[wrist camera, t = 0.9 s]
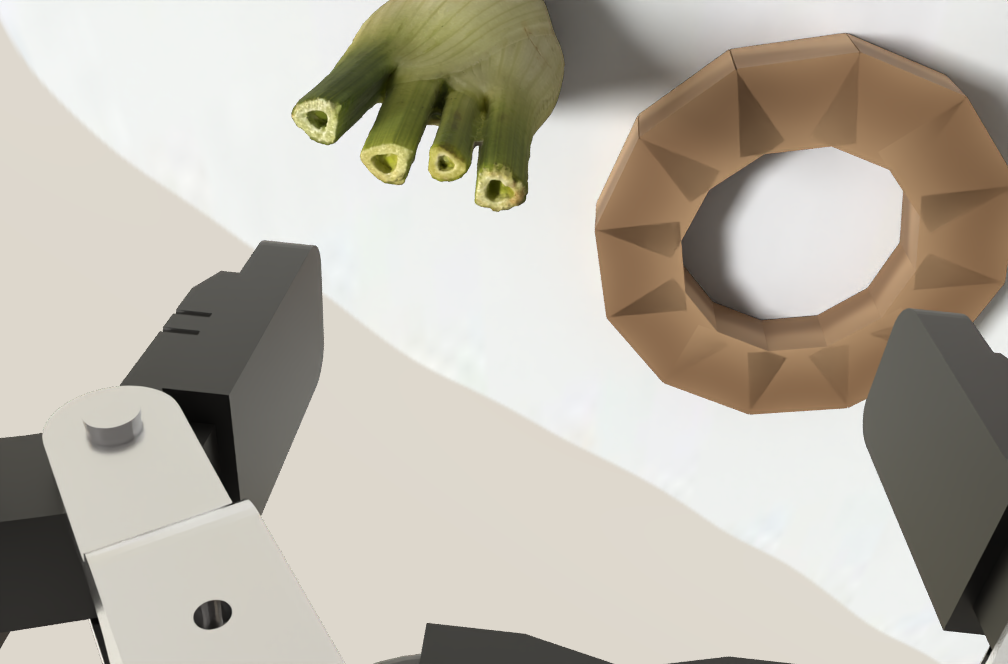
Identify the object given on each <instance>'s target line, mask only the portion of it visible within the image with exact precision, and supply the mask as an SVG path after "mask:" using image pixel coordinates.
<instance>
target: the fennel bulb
mask: <svg viewBox="0 0 1008 664" xmlns="http://www.w3.org/2000/svg"><path fill="white" fill-rule="evenodd" d="M564 66H565V62H564V56H563V53H562V50H561V47H560V44H559V42H558V40H557V37H556V35H555V33H554V30H553V27H552V23H551V20H550V16H549V13H548V10H547V7H546V5H545V3H544V1H543V0H389V1H388V2H386V3H385V4H384V5H382V6H381V7H380V8H379V9H378V10H377V11H375V12H374V13H373V14H372V15H371V16H370V17H369V18H368V19H367V20H366V21H365V22H364V23H363V25H362V26H361V28H360V30H359V31H358V32H357V34H356V36H355V38H354V39H353V42H352V44H351V45H350V46H349V47H348V49H347V51H346V52H345V54H344V55H343V56H342V57H341V59H340V60H339V62H338V63H337V64H336V66H335V67H334V69H333V70H332V71H331V73H330V74H329V75H328V76H326V77H325V78H324V79H323V80H322V81H321V82H320V83H319V84H318V85H317V86H316V87H315V88H314V89H312V90H311V91H310V92H308V93H307V94H306V95H305V96H304V97H302V98H301V99H300V100H299V101H298V102H297V104H296V105H295V106H294V108H293V110H292V113H291V116H292V119H293V120H294V122H295V123H296V125H297V126H298V127H299V128H301V129H303V130H304V131H305V133H306V134H307V135H308V136H309V137H310V139H311V140H314V141H316V142H318V143H321V144H325V145H330V144H333V143H335V142H337V141H338V139H339V138H340V137H341V136H342V135H343V134H344V133H345V132H346V131H348V130H349V129H350V128H351V127H352V126H353V125H354V124H355V123H356V122H357V121H358V120H359V119H360V118H362V116H363V115H364V114H365V113H366V111H368V110H369V109H370V108H372V107H373V106H374V105H375V104H376V103H382V106H381V108H380V110H379V113H378V116H377V118H376V121H375V123H374V125H373V127H372V129H371V131H370V132H369V136H368V138H367V139H366V142H365V145H364V146H363V149H362V151H361V154H360V158H361V161H362V162H363V164H364V165H365V166H366V167H367V168H368V170H369V171H370V172H371V173H372V174H373V175H374V176H375V177H377V178H378V179H379V180H381V181H382V182H384V183H388V184H395V185H402V184H403V183H404V182H405V179H406V178H407V176H408V173H409V170H410V167H411V165H412V163H413V162H414V160H415V155H416V150H417V147H418V144H419V142H420V141H421V137H422V135H423V133H424V130H425V128H426V125H436V126H439V128H438V130H437V133H436V137H435V140H434V142H433V145H432V146H431V148H430V152H429V156H430V157H429V166H428V171H429V172H430V174H431V176H432V178H434V179H436V180H438V181H441V182H443V181H448V182H450V181H454V180H457V179H459V178H461V177H462V176H463V175H464V174H465V173H466V172H467V171H468V169H469V167H470V165H471V160H472V153H473V149H474V148H475V147H476V146H479V152H478V153H479V157H478V163H477V180H476V190H475V203H476V204H477V205H479V206H481V207H485V208H491V209H492V210H493V211H496V212H499V211H500V210H509V209H511V208H512V207H514V206H519V205H521V204H522V203H524V202H525V201H526V195H527V194H528V182H527V181H528V161H529V158H530V145H531V142H532V138H533V135H534V134H535V133H536V131H537V130H538V129H539V128H540V127H541V126H542V124H543V123H544V122H545V121H546V120H547V118H548V117H549V116H550V115H551V113H552V111H553V109H554V107H555V105H556V103H557V100H558V97H559V94H560V90H561V86H562V81H563V76H564Z"/></svg>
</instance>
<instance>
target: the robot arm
mask: <svg viewBox="0 0 1008 664" xmlns="http://www.w3.org/2000/svg"><path fill="white" fill-rule="evenodd" d="M323 350H324V332H323V305H322V277H321V258H320V253H319V249H318V247H317V246H314V245H305V244H295V243H285V242H275V241H266V240H264V241H261V242H260V243H259V245H258V246H257V248H256V249H255V251H254V252H253V254H252V255H251V257H250V258H249V260H248V261H247V263H246V264H245V266H244V267H243V269H242V270H241V272H240V273H236V272H226V271H220V272H219V273H217V274H215V275H214V276H212V277H210V278H209V279H207V280H205V281H203V282H202V283H200V284H198V285H197V286H195V287H193V288H192V289H191V290H190V292H189V293H188V294H187V296H186V297H185V299H184V300H183V301H182V302H181V304H180V305H179V306H178V308H177V310H176V314H173V315H172V316H171V317H170V319H169V320H168V321H167V323H166V324H165V325H164V327H163V332H161V331H160V332H159V333H158V335H157V336H156V337H155V339H154V340H153V341H152V343H151V344H150V345H149V347H148V348H147V349H146V351H145V352H144V354H143V355H142V356H141V358H140V359H139V360H138V362H137V363H136V364H135V366H134V367H133V368H132V370H131V371H130V372H129V374H128V375H127V377H126V378H125V379H124V380H123V382H122V383H121V384H120V386H116V387H109V388H104V389H100V390H96V391H92V392H89V393H86V394H84V395H81V396H79V397H77V398H75V399H73V400H71V401H69V402H67V403H66V404H65V405H63V406H62V407H60V408H59V409H58V410H57V411H56V412H55V413H53V415H52V416H51V417H50V418H49V419H48V421H47V422H46V425H45V427H44V429H43V433H39V434H33V435H26V436H17V437H7V438H0V648H1V646H2V645H3V643H4V641H5V639H6V638H7V636H8V634H9V633H10V631H15V630H22V629H29V628H35V627H41V626H48V625H54V624H61V623H66V622H73V621H80V620H86V619H88V620H89V624H90V627H91V630H92V633H93V636H94V639H95V642H96V645H97V649H98V651H99V655H100V658H101V661H102V664H345V662H344V660H343V659H342V657H341V655H340V653H339V652H338V650H337V648H336V647H335V645H334V643H333V641H332V640H331V638H330V636H329V634H328V633H327V631H326V629H325V627H324V626H323V624H322V622H321V621H320V619H319V617H318V615H317V614H316V612H315V610H314V608H313V606H312V605H311V603H310V601H309V599H308V598H307V596H306V594H305V592H304V591H303V589H302V587H301V585H300V584H299V582H298V581H297V578H296V577H295V575H294V573H293V571H292V570H291V568H290V566H289V564H288V563H287V561H286V559H285V557H284V556H283V554H282V552H281V551H280V549H279V547H278V545H277V544H276V542H275V540H274V538H273V537H272V535H271V533H270V531H269V530H268V528H267V526H266V524H265V523H264V521H263V519H262V518H261V515H262V512H263V510H264V508H265V505H266V503H267V501H268V498H269V496H270V494H271V491H272V489H273V487H274V484H275V482H276V480H277V477H278V475H279V473H280V470H281V468H282V466H283V463H284V461H285V459H286V456H287V454H288V452H289V449H290V447H291V444H292V442H293V440H294V438H295V435H296V433H297V430H298V428H299V426H300V423H301V421H302V418H303V416H304V414H305V412H306V409H307V407H308V405H309V402H310V400H311V398H312V395H313V393H314V391H315V388H316V386H317V383H318V380H319V376H320V372H321V367H322V361H323ZM863 435H864V440H865V444H866V447H867V449H868V451H869V454H870V456H871V459H872V461H873V463H874V466H875V468H876V471H877V473H878V475H879V478H880V480H881V482H882V485H883V487H884V490H885V492H886V494H887V497H888V499H889V502H890V504H891V506H892V509H893V511H894V514H895V516H896V518H897V521H898V523H899V526H900V528H901V530H902V533H903V535H904V537H905V540H906V542H907V545H908V547H909V549H910V552H911V554H912V557H913V559H914V561H915V564H916V566H917V569H918V571H919V573H920V576H921V578H922V580H923V583H924V585H925V588H926V590H927V592H928V595H929V597H930V600H931V602H932V604H933V607H934V609H935V612H936V614H937V616H938V619H939V621H940V624H941V626H942V628H943V630H944V631H953V632H962V633H971V634H980V635H985V636H986V638H987V640H988V642H989V645H990V646H989V648H988V649H987V651H986V653H985V655H984V656H983V658H982V660H981V662H980V664H1008V358H1006V357H1005V356H1004V355H1002V354H1001V353H994V352H993V351H992V350H991V348H990V347H989V345H988V344H987V342H986V341H985V340H984V338H983V337H982V335H981V334H980V332H979V331H978V330H977V328H976V327H975V325H974V324H973V322H972V321H971V320H970V318H969V317H968V316H966V315H965V314H961V313H951V312H942V311H932V310H922V309H912V308H907V309H905V310H903V311H902V312H901V313H900V314H899V316H898V317H897V319H896V321H895V323H894V326H893V328H892V331H891V334H890V336H889V339H888V342H887V345H886V347H885V350H884V353H883V355H882V358H881V361H880V364H879V366H878V369H877V372H876V375H875V377H874V380H873V383H872V385H871V388H870V391H869V394H868V396H867V399H866V403H865V407H864V413H863ZM375 664H612V663H610V662H607V661H604V660H601V659H598V658H595V657H592V656H589V655H586V654H583V653H580V652H577V651H574V650H571V649H568V648H565V647H562V646H559V645H556V644H553V643H550V642H547V641H544V640H541V639H538V638H535V637H533V636H530V635H527V634H521V633H512V632H503V631H494V630H485V629H476V628H467V627H458V626H449V625H441V624H431V623H427V624H426V630H425V635H424V641H423V647H422V652H421V654H416V655H408V656H402V657H397V658H394V659H389V660H385V661H380V662H377V663H375ZM671 664H791V663H781V662H773V661H764V660H754V659H746V658H737V657H721V658H713V659H704V660H696V661H688V662H679V663H671Z"/></svg>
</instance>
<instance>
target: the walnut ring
mask: <svg viewBox="0 0 1008 664" xmlns="http://www.w3.org/2000/svg"><path fill="white" fill-rule="evenodd" d="M830 146H832V147H834V148H837V149H839V150H842V151H844V152H847V153H849V154H852V155H854V156H857V157H859V158H862V159H864V160H867V161H869V162H871V163H874V164H876V165H879V166H881V167H884V168H886V169H889V170H890V171H891V173H892V175H893V176H894V178H895V179H896V181H897V182H898V184H899V185H900V187H901V188H902V190H903V201H902V217H901V232H900V243H899V244H898V246H897V247H896V249H895V250H894V251H893V253H892V254H891V256H890V257H889V258H888V260H887V261H886V263H885V264H884V265H883V267H882V268H881V270H880V271H879V272H878V274H877V275H876V277H875V278H874V280H873V281H872V282H871V284H870V285H869V287H868V288H866V289H865V290H863V291H861V292H859V293H857V294H856V295H854V296H852V297H850V298H848V299H846V300H845V301H843V302H841V303H839V304H837V305H835V306H834V307H832V308H830V309H828V310H826V311H824V312H823V313H821V314H819V315H817V316H806V317H794V318H782V319H770V320H759V319H757V318H754V317H751V316H749V315H746V314H744V313H741V312H738V311H736V310H733V309H730V308H728V307H725V306H722V305H720V304H717V303H715V302H712V300H711V299H710V298H709V297H708V295H707V294H706V293H705V292H704V290H703V289H702V288H701V287H700V285H699V284H698V283H697V282H696V280H695V279H694V278H693V277H692V275H691V274H690V273H689V272H688V270H687V269H686V268H685V267H684V265H683V257H682V244H681V241H682V239H683V237H684V235H685V233H686V231H687V230H688V228H689V226H690V224H691V222H692V220H693V219H694V217H695V215H696V213H697V211H698V209H699V208H700V206H701V204H702V202H703V200H704V198H705V197H706V195H707V193H708V191H709V190H710V189H711V188H713V187H715V186H716V185H718V184H719V183H721V182H722V181H724V180H725V179H727V178H728V177H730V176H731V175H733V174H735V173H736V172H738V171H739V170H741V169H742V168H744V167H745V166H747V165H748V164H750V163H751V162H753V161H755V160H756V159H758V158H759V157H761V156H762V155H764V154H770V153H779V152H787V151H796V150H804V149H813V148H821V147H830ZM595 236H596V243H597V251H598V258H599V266H600V273H601V280H602V288H603V295H604V303H605V310H606V317H607V319H608V320H609V321H610V322H611V324H612V325H613V326H614V327H615V328H616V329H617V330H618V332H619V333H620V334H621V335H622V336H623V337H624V339H625V340H626V341H627V342H628V343H629V344H630V345H631V347H632V348H633V349H634V350H635V351H636V352H637V353H638V355H639V356H640V357H641V358H642V359H643V360H644V361H645V363H646V364H647V365H648V366H649V367H650V368H651V369H652V371H653V372H654V373H655V374H656V375H657V376H658V377H659V379H660V380H661V381H662V382H664V383H665V384H668V385H670V386H673V387H676V388H678V389H681V390H684V391H687V392H689V393H692V394H695V395H697V396H700V397H703V398H706V399H708V400H711V401H714V402H717V403H719V404H722V405H725V406H727V407H730V408H733V409H736V410H738V411H741V412H744V413H746V414H749V413H750V414H765V413H780V412H795V411H810V410H826V409H841V408H847V407H848V408H849V407H851V406H853V405H855V404H857V403H859V402H861V401H863V400H865V399H867V396H868V394H869V391H870V388H871V385H872V383H873V380H874V377H875V375H876V372H877V369H878V366H879V364H880V361H881V358H882V355H883V353H884V350H885V347H886V345H887V342H888V339H889V336H890V334H891V331H892V328H893V326H894V323H895V321H896V319H897V317H898V316H899V314H900V313H901V312H902V311H903V310H905V309H907V308H912V309H922V310H932V311H942V312H951V313H961V314H965V315H966V316H968V317H969V318H970V320H971V321H972V322H974V320H975V319H976V318H977V317H978V315H979V314H980V313H981V312H982V311H983V309H984V308H985V307H986V306H987V304H988V303H989V302H990V301H991V299H992V298H993V297H994V296H995V295H996V293H997V292H998V291H999V290H1000V288H1001V287H1002V286H1003V285H1004V282H1005V279H1006V272H1007V265H1008V166H1007V164H1006V162H1005V161H1004V159H1003V157H1002V156H1001V154H1000V152H999V150H998V149H997V147H996V145H995V144H994V142H993V140H992V138H991V137H990V135H989V133H988V132H987V130H986V128H985V127H984V125H983V123H982V121H981V120H980V118H979V116H978V115H977V113H976V111H975V109H974V108H973V106H972V104H971V103H970V101H969V99H968V97H967V96H966V95H965V94H964V93H963V92H962V91H961V90H960V89H959V88H958V87H957V86H956V85H955V84H954V83H953V82H952V81H951V80H950V79H949V78H948V77H947V76H946V75H945V74H943V73H940V72H938V71H935V70H933V69H931V68H928V67H926V66H924V65H921V64H919V63H916V62H914V61H912V60H909V59H907V58H905V57H902V56H900V55H897V54H895V53H893V52H890V51H888V50H885V49H883V48H881V47H878V46H876V45H874V44H871V43H869V42H866V41H864V40H862V39H859V38H857V37H855V36H852V35H850V34H847V33H846V34H845V33H841V34H834V35H827V36H820V37H813V38H806V39H798V40H791V41H784V42H777V43H770V44H763V45H756V46H748V47H741V48H734V49H730V51H729V50H728V51H726V52H725V53H723V54H722V55H721V56H719V57H718V58H716V59H715V60H714V61H712V62H711V63H710V64H708V65H707V66H705V67H704V68H703V69H701V70H700V71H698V72H697V73H696V74H694V75H693V76H691V77H690V78H689V79H687V80H686V81H684V82H683V83H682V84H680V85H679V86H678V87H676V88H675V89H673V90H672V91H671V92H669V93H668V94H666V95H665V96H664V97H662V98H661V99H659V100H658V101H657V102H655V103H654V104H653V105H651V106H650V107H648V108H647V109H646V110H644V111H643V112H641V113H640V114H639V116H637V118H636V120H635V122H634V125H633V127H632V129H631V131H630V133H629V135H628V137H627V139H626V142H625V144H624V146H623V148H622V150H621V152H620V154H619V156H618V159H617V161H616V163H615V165H614V167H613V169H612V171H611V173H610V176H609V178H608V180H607V182H606V184H605V186H604V188H603V191H602V193H601V195H600V197H599V199H598V201H597V204H596V219H595Z"/></svg>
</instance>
